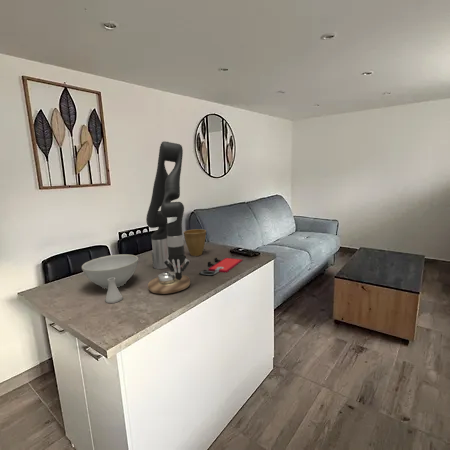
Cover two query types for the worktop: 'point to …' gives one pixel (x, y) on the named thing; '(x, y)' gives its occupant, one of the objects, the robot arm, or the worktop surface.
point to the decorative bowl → (110, 269)
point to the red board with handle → (221, 266)
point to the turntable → (169, 288)
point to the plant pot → (195, 241)
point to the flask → (113, 292)
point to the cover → (166, 278)
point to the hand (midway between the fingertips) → (179, 279)
